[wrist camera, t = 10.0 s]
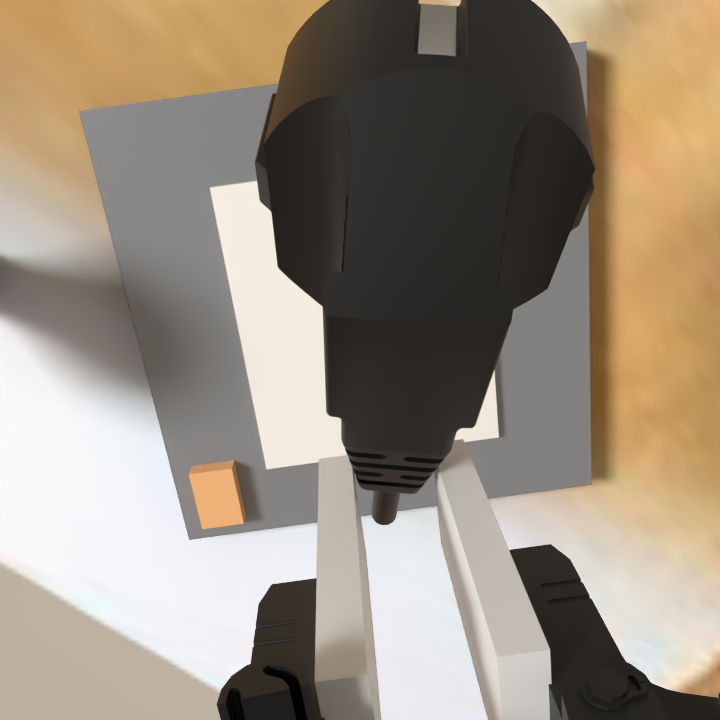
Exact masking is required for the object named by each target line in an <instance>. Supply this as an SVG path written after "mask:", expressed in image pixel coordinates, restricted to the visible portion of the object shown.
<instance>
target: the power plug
mask: <svg viewBox="0 0 720 720" xmlns="http://www.w3.org/2000/svg"><path fill="white" fill-rule="evenodd" d="M418 2H419V0H330V1H328V2H327V3H326V4H324V5H323V6H322V7H321V8H320V9H318V10H317V11H316V12H315V13H314V14H313V15H312V16H311V17H310V18H309V19H308V20H307V21H306V22H305V24H304V25H303V26H302V27H301V28H300V29H299V31H298V32H297V33H296V35H295V36H294V38H293V40H292V41H291V43H290V44H289V46H288V48H287V52H286V56H285V60H284V64H283V68H282V72H281V76H280V80H279V84H278V88H277V92H276V93H273V94H272V96H271V100H270V104H269V108H268V112H267V116H266V120H265V124H264V128H263V132H262V136H261V139H260V143H259V147H258V151H257V155H256V159H255V169H256V177H257V184H258V192H259V199H260V202H261V203H262V204H263V205H264V206H266V207H267V208H268V209H269V210H270V211H271V213H272V222H273V231H274V239H275V248H276V257H277V266H278V268H279V269H280V270H281V271H282V272H283V273H284V274H285V275H286V276H287V277H288V278H289V279H290V280H291V281H292V282H293V283H295V284H296V285H297V286H298V287H299V288H301V289H302V290H303V291H304V292H305V293H307V294H308V295H309V296H310V297H311V298H313V299H314V300H315V301H316V302H317V303H319V304H320V305H321V306H322V307H323V335H324V363H325V391H326V412H327V414H328V415H329V416H331V417H338V418H340V419H341V440H342V443H343V445H344V447H345V451H346V453H347V455H348V457H349V461H350V463H351V466H352V467H353V471H354V474H355V475H356V479H357V481H358V484H359V486H360V487H361V488H362V489H364V490H370V491H374V493H373V503H372V517H373V519H374V521H376V522H377V523H378V524H381V525H388V524H390V523H392V522H393V521H394V520H395V518H396V514H397V509H398V503H399V498H400V493H404V494H415V493H417V492H418V491H419V490H420V489H421V488H422V486H423V485H424V484H425V483H426V481H427V480H428V479H429V478H430V477H431V475H432V474H433V473H434V471H435V470H436V469H437V467H438V466H439V465H440V464H441V463H442V461H443V460H444V459H445V457H446V456H447V455H448V454H449V453H450V451H451V450H452V446H453V443H454V439H455V436H456V433H457V431H458V430H459V429H461V428H473V427H474V426H475V425H476V422H477V419H478V416H479V413H480V410H481V408H482V405H483V402H484V399H485V396H486V393H487V390H488V387H489V384H490V381H491V378H492V375H493V373H494V370H495V367H496V364H497V361H498V358H499V355H500V352H501V350H502V347H503V344H504V341H505V338H506V335H507V332H508V329H509V326H510V324H511V321H512V314H513V309H515V308H517V307H519V306H520V305H522V304H524V303H526V302H528V301H529V300H531V299H533V298H534V297H536V296H538V295H539V294H541V293H542V292H544V291H545V290H547V289H548V287H549V285H550V282H551V279H552V277H553V274H554V272H555V269H556V267H557V264H558V262H559V259H560V257H561V254H562V252H563V249H564V247H565V244H566V241H567V239H568V236H569V234H570V232H571V231H572V230H574V229H575V228H576V227H578V226H579V225H580V222H581V220H582V217H583V215H584V212H585V210H586V207H587V205H588V202H589V200H590V197H591V195H592V192H593V190H594V184H593V178H592V176H593V173H594V171H595V166H594V159H593V153H592V147H591V141H590V134H589V128H588V122H587V116H586V109H585V103H584V97H583V91H582V84H581V78H580V72H579V67H578V64H577V61H576V59H575V56H574V53H573V51H572V49H571V47H570V45H569V43H568V41H567V39H566V38H565V36H564V35H563V33H562V32H561V30H560V29H559V28H558V26H557V25H556V24H555V23H554V21H553V20H552V19H551V18H550V17H549V16H548V15H547V14H546V13H545V12H544V11H543V10H542V9H541V8H540V7H538V6H537V5H536V4H535V3H534V2H532V1H531V0H461V4H460V6H445V5H430V4H419V3H418Z"/></svg>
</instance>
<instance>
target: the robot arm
mask: <svg viewBox="0 0 720 720" xmlns="http://www.w3.org/2000/svg"><path fill="white" fill-rule="evenodd" d="M434 479H435V489H436V499H437V508H438V518H439V527H440V537H441V544H442V547H443V551H444V555H445V559H446V563H447V566H448V570H449V574H450V578H451V581H452V585H453V589H454V593H455V597H456V600H457V604H458V608H459V612H460V616H461V619H462V623H463V627H464V631H465V634H466V638H467V642H468V646H469V650H470V653H471V657H472V661H473V665H474V669H475V672H476V676H477V680H478V684H479V687H480V691H481V695H482V699H483V703H484V706H485V710H486V714H487V718H488V720H720V693H719V696H718V698H716V697H708V696H701V695H693V694H686V693H680V692H676V691H671V690H667V689H664V688H662V687H659V686H657V685H654V684H652V683H651V682H650V681H649V680H648V678H647V677H646V675H645V674H644V673H642V672H641V671H639V670H638V669H637V668H635V667H634V666H632V665H631V664H629V663H627V662H626V661H625V660H624V658H623V657H622V655H621V653H620V651H619V649H618V647H617V646H616V644H615V642H614V640H613V638H612V636H611V634H610V633H609V631H608V629H607V627H606V625H605V623H604V621H603V620H602V618H601V616H600V614H599V612H598V610H597V608H596V607H595V605H594V603H593V601H592V599H590V597H589V594H588V592H587V590H586V588H585V586H584V584H583V583H581V579H580V577H579V575H578V573H577V571H576V570H575V568H574V566H573V564H572V562H571V560H570V559H569V558H567V557H566V556H565V555H564V554H562V553H561V552H560V551H558V550H557V549H556V548H555V547H553V546H552V545H551V544H549V545H542V546H535V547H527V548H520V549H513V550H509V549H508V546H507V544H506V542H505V539H504V537H503V534H502V532H501V530H500V527H499V525H498V522H497V520H496V517H495V515H494V513H493V510H492V508H491V505H490V503H489V500H488V498H487V496H486V493H485V491H484V488H483V486H482V484H481V481H480V479H479V476H478V474H477V471H476V469H475V467H474V464H473V462H472V459H471V457H470V454H469V452H468V450H467V447H466V445H465V442H464V440H463V439H460V440H454V443H453V446H452V450H451V451H450V453H449V454H448V455H447V456H446V457H445V459H444V460H443V461H442V463H441V464H440V465H439V466H438V467H437V469H436V470H435V471H434ZM217 707H218V710H219V714H220V718H221V720H381V712H380V701H379V690H378V679H377V668H376V657H375V646H374V635H373V624H372V613H371V602H370V591H369V580H368V569H367V558H366V549H365V542H364V536H363V529H362V523H361V516H360V509H359V503H358V496H357V489H356V483H355V476H354V471H353V467H352V466H351V463H350V461H349V457H348V455H343V456H336V457H329V458H322V459H319V480H318V532H317V578H315V579H308V580H301V581H293V582H286V583H279V584H272V585H271V586H270V588H269V590H268V591H267V593H266V594H265V596H264V597H263V599H262V600H261V602H260V603H259V606H258V614H257V621H256V629H255V636H254V647H253V651H252V658H251V664H250V665H247V666H245V667H244V668H242V669H241V670H240V671H238V672H237V673H235V674H234V675H232V676H231V678H230V679H229V680H228V681H227V683H226V684H225V685H224V687H223V688H222V689H221V692H220V696H219V699H218V703H217Z"/></svg>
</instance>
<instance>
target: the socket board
mask: <svg viewBox="0 0 720 720" xmlns="http://www.w3.org/2000/svg"><path fill="white" fill-rule="evenodd" d="M569 45H570V47H571V49H572V51H573V53H574V56H575V59H576V61H577V64H578V67H579V72H580V78H581V84H582V91H583V97H584V103H585V109H586V116H587V42H586V41H584V42H577V43H569ZM277 88H278V84H273V85H265V86H258V87H251V88H244V89H236V90H229V91H222V92H215V93H207V94H200V95H193V96H186V97H178V98H171V99H164V100H157V101H149V102H142V103H135V104H128V105H121V106H113V107H106V108H99V109H92V110H84V111H79V114H80V118H81V121H82V125H83V129H84V133H85V137H86V141H87V145H88V149H89V152H90V156H91V160H92V164H93V168H94V172H95V176H96V180H97V184H98V187H99V191H100V195H101V199H102V203H103V207H104V211H105V215H106V218H107V222H108V226H109V230H110V234H111V238H112V242H113V246H114V250H115V253H116V257H117V261H118V265H119V269H120V273H121V277H122V281H123V285H124V288H125V292H126V296H127V300H128V304H129V308H130V312H131V316H132V319H133V323H134V327H135V331H136V335H137V339H138V343H139V347H140V351H141V354H142V358H143V362H144V366H145V370H146V374H147V378H148V382H149V385H150V389H151V393H152V397H153V401H154V405H155V409H156V413H157V417H158V420H159V424H160V428H161V432H162V436H163V440H164V444H165V448H166V451H167V455H168V459H169V463H170V467H171V471H172V475H173V479H174V483H175V486H176V490H177V494H178V498H179V502H180V506H181V510H182V514H183V518H184V521H185V525H186V529H187V533H188V537H189V540H192V539H199V538H206V537H213V536H221V535H228V534H235V533H243V532H250V531H257V530H264V529H272V528H279V527H286V526H294V525H301V524H308V523H315V522H318V480H319V459H322V458H329V457H336V456H343V455H347V453H346V451H345V447H344V445H343V443H342V440H341V419H340V418H338V417H331V416H329V415H328V414H327V412H326V391H325V363H324V335H323V307H322V306H321V305H320V304H319V303H317V302H316V301H315V300H314V299H313V298H311V297H310V296H309V295H308V294H307V293H305V292H304V291H303V290H302V289H301V288H299V287H298V286H297V285H296V284H295V283H293V282H292V281H291V280H290V279H289V278H288V277H287V276H286V275H285V274H284V273H283V272H282V271H281V270H280V269H279V268H278V266H277V257H276V248H275V239H274V231H273V222H272V213H271V211H270V210H269V209H268V208H267V207H266V206H264V205H263V204H262V203H261V202H260V199H259V192H258V184H257V177H256V169H255V159H256V155H257V151H258V147H259V143H260V139H261V136H262V132H263V128H264V124H265V120H266V116H267V112H268V108H269V104H270V100H271V96H272V94H273V93H276V92H277ZM460 439H463V440H464V442H465V445H466V447H467V450H468V452H469V454H470V457H471V459H472V462H473V464H474V467H475V469H476V471H477V474H478V476H479V479H480V481H481V484H482V486H483V488H484V491H485V493H486V496H487V498H488V499H490V498H497V497H505V496H512V495H519V494H527V493H534V492H541V491H548V490H556V489H563V488H570V487H578V486H585V485H592V480H591V393H590V305H589V217H588V205H587V207H586V210H585V212H584V215H583V217H582V220H581V222H580V225H579V226H578V227H576V228H575V229H574V230H572V231H571V232H570V234H569V236H568V239H567V241H566V244H565V247H564V249H563V252H562V254H561V257H560V259H559V262H558V264H557V267H556V269H555V272H554V274H553V277H552V279H551V282H550V285H549V287H548V289H547V290H545V291H544V292H542V293H541V294H539V295H538V296H536V297H534V298H533V299H531V300H529V301H528V302H526V303H524V304H522V305H520V306H519V307H517V308H515V309H513V314H512V321H511V324H510V326H509V329H508V332H507V335H506V338H505V341H504V344H503V347H502V350H501V352H500V355H499V358H498V361H497V364H496V367H495V370H494V373H493V375H492V378H491V381H490V384H489V387H488V390H487V393H486V396H485V399H484V402H483V405H482V408H481V410H480V413H479V416H478V419H477V422H476V425H475V426H474V427H473V428H461V429H459V430H458V431H457V433H456V436H455V439H454V440H460ZM354 476H355V483H356V489H357V496H358V503H359V509H360V516H366V515H372V503H373V493H374V491H370V490H364V489H362V488H361V487H360V486H359V484H358V481H357V479H356V475H355V474H354ZM432 506H437V499H436V489H435V479H434V473H433V474H432V475H431V477H430V478H429V479H428V480H427V481H426V483H425V484H424V485H423V486H422V488H421V489H420V490H419V491H418V492H417V493H415V494H404V493H400V498H399V503H398V509H397V511H403V510H410V509H417V508H425V507H432Z"/></svg>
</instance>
